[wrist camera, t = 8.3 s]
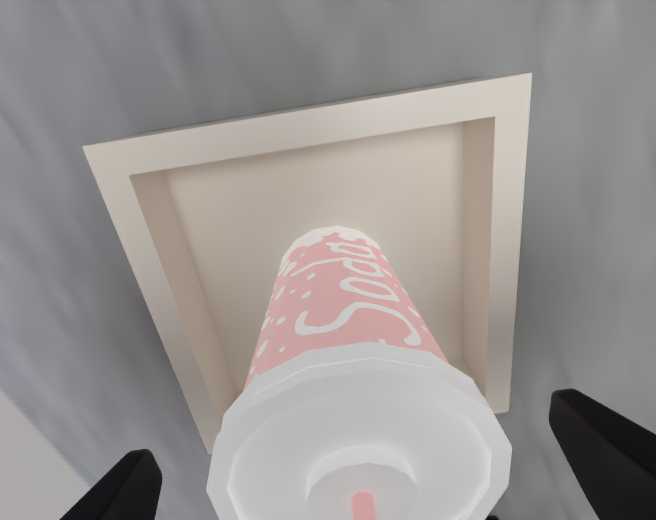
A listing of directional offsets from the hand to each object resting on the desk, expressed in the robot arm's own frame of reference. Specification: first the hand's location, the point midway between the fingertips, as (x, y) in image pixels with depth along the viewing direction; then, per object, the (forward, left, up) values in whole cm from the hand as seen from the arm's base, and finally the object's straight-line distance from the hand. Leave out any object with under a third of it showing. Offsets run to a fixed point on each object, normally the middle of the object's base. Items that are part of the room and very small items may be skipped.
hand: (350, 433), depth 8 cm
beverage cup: (0, 0, -8) cm, 8 cm away
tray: (0, 0, -9) cm, 9 cm away
